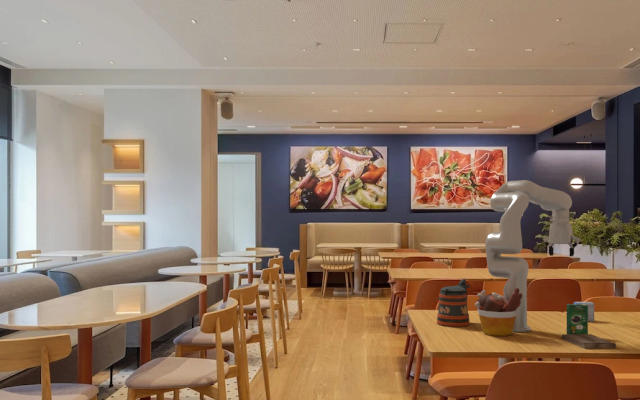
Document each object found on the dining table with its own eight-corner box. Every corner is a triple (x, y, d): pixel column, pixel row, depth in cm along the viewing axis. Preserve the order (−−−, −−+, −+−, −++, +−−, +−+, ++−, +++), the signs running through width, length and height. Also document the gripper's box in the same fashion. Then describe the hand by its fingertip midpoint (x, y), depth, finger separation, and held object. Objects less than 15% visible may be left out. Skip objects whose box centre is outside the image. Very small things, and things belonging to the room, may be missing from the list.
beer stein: (450, 318, 271) (450, 277, 272) (479, 322, 262) (478, 279, 263) (431, 324, 257) (430, 280, 258) (460, 328, 247) (460, 283, 248)
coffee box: (585, 335, 232) (584, 303, 232) (588, 336, 229) (588, 304, 229) (566, 335, 231) (565, 303, 232) (569, 337, 228) (569, 304, 229)
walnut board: (584, 348, 208) (584, 343, 208) (561, 338, 226) (561, 333, 226) (616, 348, 208) (615, 343, 208) (590, 338, 226) (590, 333, 226)
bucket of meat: (466, 333, 236) (466, 286, 237) (486, 328, 248) (485, 283, 248) (511, 340, 222) (511, 290, 223) (530, 334, 233) (529, 286, 234)
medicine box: (591, 320, 267) (590, 301, 268) (594, 321, 263) (594, 303, 263) (573, 319, 268) (573, 301, 269) (577, 321, 264) (576, 303, 264)
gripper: (540, 220, 277) (540, 255, 277) (576, 220, 265) (576, 256, 265) (546, 220, 283) (546, 254, 282) (582, 220, 271) (582, 256, 270)
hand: (561, 255), depth 273 cm, fingers open, 9 cm apart
